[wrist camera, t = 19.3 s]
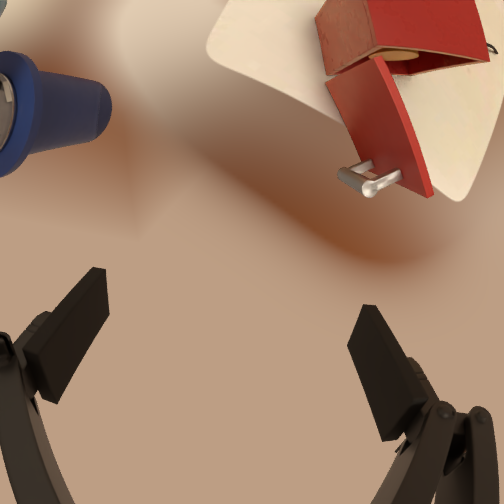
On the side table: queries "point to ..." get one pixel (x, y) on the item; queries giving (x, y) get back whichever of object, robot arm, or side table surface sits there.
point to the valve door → (378, 131)
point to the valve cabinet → (401, 34)
